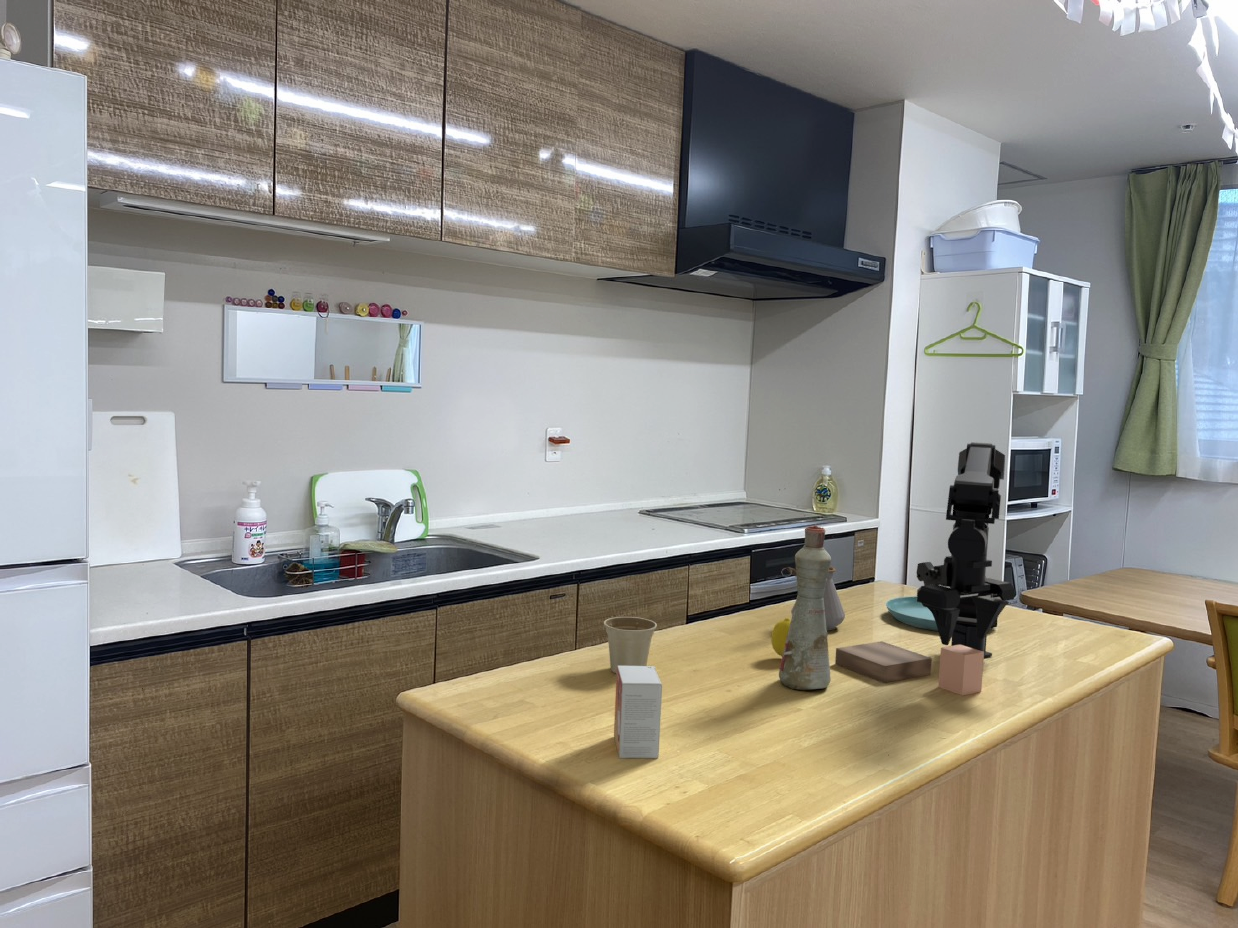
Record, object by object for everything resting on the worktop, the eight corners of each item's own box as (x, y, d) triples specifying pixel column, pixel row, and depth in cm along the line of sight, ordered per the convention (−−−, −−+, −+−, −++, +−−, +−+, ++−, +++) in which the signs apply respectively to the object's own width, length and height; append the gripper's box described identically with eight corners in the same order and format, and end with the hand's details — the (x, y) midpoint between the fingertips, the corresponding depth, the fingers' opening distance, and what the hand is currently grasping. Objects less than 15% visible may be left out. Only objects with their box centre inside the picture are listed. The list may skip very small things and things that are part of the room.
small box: (613, 736, 130) (616, 664, 129) (652, 736, 130) (655, 664, 129) (618, 759, 122) (621, 682, 121) (659, 759, 122) (662, 683, 121)
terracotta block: (957, 683, 161) (960, 644, 160) (981, 691, 157) (984, 651, 156) (938, 686, 158) (940, 647, 158) (962, 695, 154) (964, 655, 153)
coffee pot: (806, 616, 205) (809, 551, 204) (853, 626, 198) (857, 558, 197) (757, 633, 189) (761, 563, 188) (807, 645, 182) (811, 571, 180)
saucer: (878, 606, 220) (879, 593, 220) (982, 613, 217) (983, 599, 216) (894, 631, 196) (895, 616, 196) (1011, 640, 193) (1012, 624, 192)
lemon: (800, 665, 168) (802, 622, 167) (769, 662, 169) (772, 620, 168) (800, 656, 173) (802, 615, 173) (770, 654, 174) (773, 613, 174)
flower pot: (666, 672, 161) (668, 624, 160) (630, 683, 154) (632, 633, 153) (626, 659, 167) (628, 613, 166) (590, 670, 160) (592, 622, 159)
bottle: (799, 696, 150) (808, 529, 148) (768, 679, 159) (776, 521, 156) (841, 690, 154) (851, 527, 152) (808, 674, 162) (817, 519, 160)
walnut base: (880, 656, 176) (881, 641, 175) (930, 674, 165) (931, 658, 165) (835, 663, 169) (836, 648, 169) (883, 682, 159) (884, 666, 159)
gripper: (965, 542, 167) (960, 625, 169) (894, 548, 158) (889, 635, 159) (1019, 552, 158) (1012, 640, 159) (947, 559, 148) (940, 652, 149)
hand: (962, 641), depth 157 cm, fingers open, 9 cm apart
